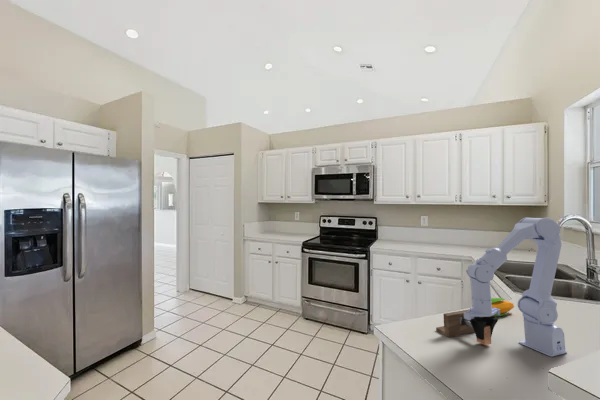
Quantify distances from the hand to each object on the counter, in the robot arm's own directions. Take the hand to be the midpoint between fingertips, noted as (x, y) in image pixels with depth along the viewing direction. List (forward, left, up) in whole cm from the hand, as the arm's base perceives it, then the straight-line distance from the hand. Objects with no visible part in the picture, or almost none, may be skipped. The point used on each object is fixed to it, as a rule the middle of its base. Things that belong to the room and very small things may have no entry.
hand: (483, 337), depth 89 cm
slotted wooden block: (+11, 0, -2) cm, 11 cm away
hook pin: (+5, 0, -2) cm, 5 cm away
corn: (+18, -30, -3) cm, 35 cm away
